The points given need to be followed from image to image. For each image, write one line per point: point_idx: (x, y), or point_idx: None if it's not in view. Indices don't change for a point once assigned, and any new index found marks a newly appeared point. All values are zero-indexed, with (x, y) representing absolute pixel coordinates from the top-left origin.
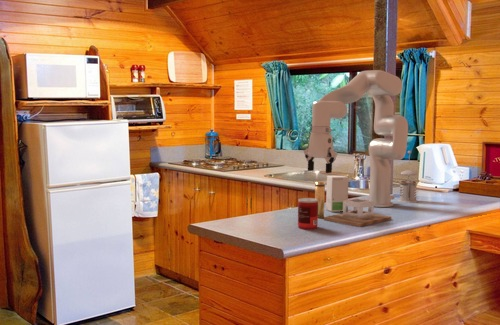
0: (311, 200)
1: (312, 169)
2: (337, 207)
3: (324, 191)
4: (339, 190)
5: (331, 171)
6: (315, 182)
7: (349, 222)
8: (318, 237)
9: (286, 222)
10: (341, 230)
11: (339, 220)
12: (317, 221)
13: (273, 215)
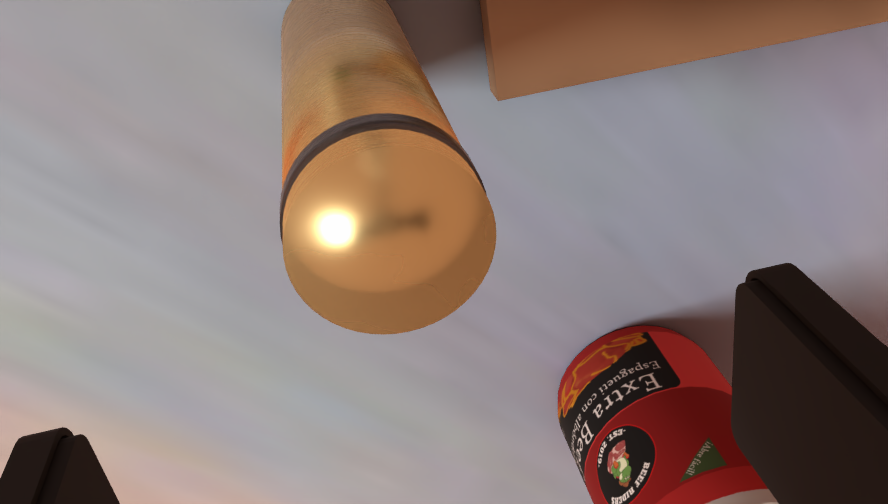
0: None
1: (99, 493)
2: None
3: (443, 114)
4: None
5: (799, 277)
6: (351, 326)
7: (835, 28)
8: None
9: (381, 432)
10: (882, 231)
11: (708, 55)
12: (720, 373)
13: (20, 392)
